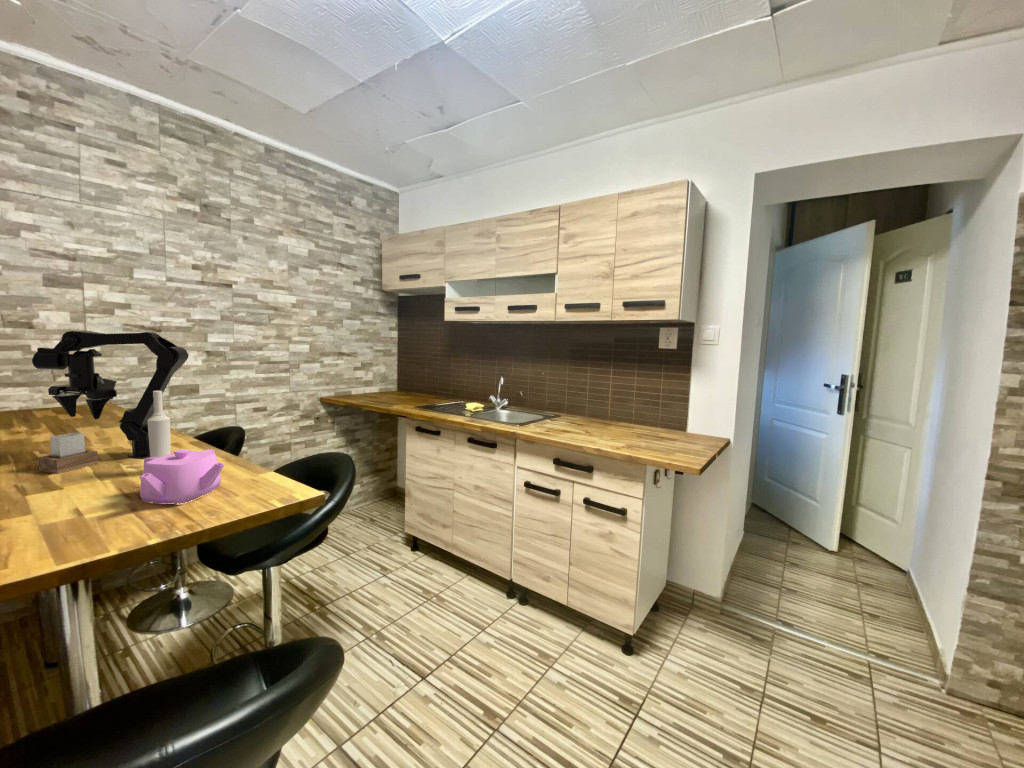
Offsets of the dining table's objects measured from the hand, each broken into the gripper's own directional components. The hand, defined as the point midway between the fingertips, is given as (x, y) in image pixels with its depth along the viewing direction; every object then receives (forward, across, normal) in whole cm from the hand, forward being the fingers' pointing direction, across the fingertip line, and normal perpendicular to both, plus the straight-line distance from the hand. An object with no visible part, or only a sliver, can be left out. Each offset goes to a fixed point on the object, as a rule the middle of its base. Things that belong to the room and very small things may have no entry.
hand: (84, 417), depth 131 cm
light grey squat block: (+12, -6, +9) cm, 16 cm away
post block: (+13, -6, +9) cm, 17 cm away
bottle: (+13, -34, +5) cm, 36 cm away
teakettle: (+13, -55, +17) cm, 59 cm away
